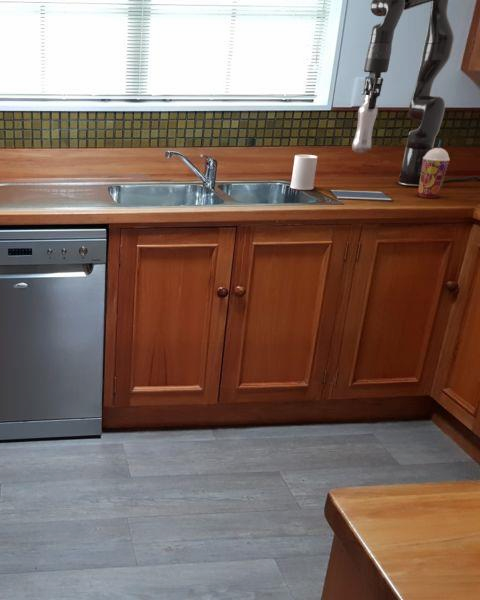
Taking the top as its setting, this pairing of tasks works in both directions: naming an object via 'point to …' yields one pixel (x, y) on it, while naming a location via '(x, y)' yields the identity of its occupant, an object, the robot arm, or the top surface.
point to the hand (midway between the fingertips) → (368, 108)
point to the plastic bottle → (364, 127)
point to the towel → (360, 195)
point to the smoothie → (433, 172)
